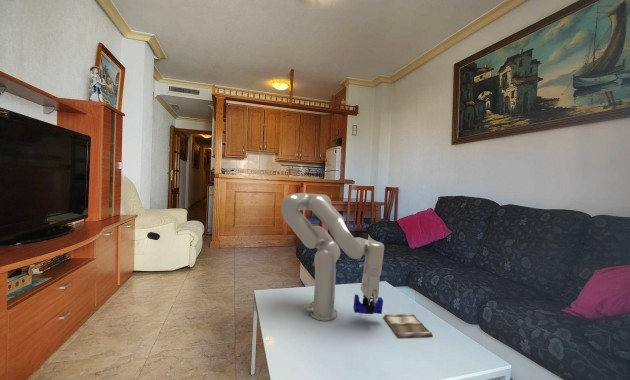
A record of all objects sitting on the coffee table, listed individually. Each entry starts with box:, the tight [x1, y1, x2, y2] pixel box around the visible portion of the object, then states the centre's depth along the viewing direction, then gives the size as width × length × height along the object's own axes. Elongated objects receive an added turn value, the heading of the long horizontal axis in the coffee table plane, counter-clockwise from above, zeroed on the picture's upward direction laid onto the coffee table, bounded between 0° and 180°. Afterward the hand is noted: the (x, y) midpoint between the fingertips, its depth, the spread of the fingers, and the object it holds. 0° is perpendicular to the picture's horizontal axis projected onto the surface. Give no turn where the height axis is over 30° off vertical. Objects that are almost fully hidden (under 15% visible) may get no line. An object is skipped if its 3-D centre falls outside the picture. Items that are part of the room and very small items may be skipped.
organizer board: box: [382, 313, 433, 339], centre depth 114 cm, size 15×15×2 cm
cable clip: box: [353, 293, 384, 315], centre depth 115 cm, size 12×4×6 cm, turn 89°
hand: (367, 309), depth 115 cm, fingers closed on cable clip, 4 cm apart
